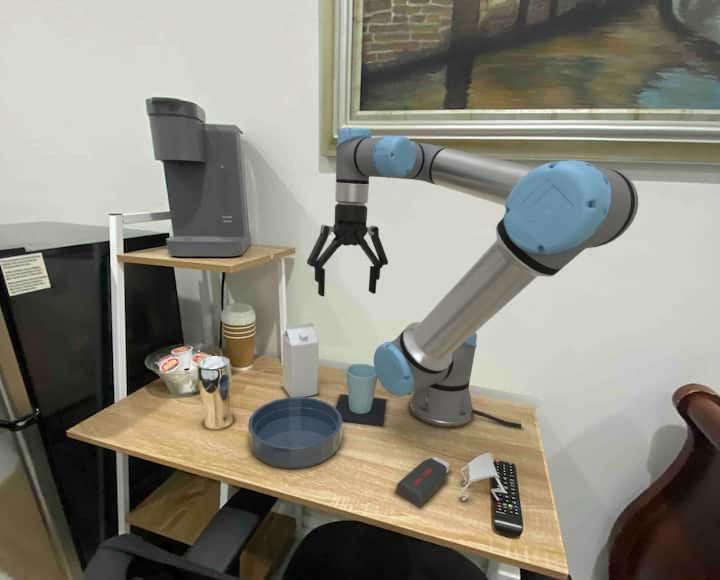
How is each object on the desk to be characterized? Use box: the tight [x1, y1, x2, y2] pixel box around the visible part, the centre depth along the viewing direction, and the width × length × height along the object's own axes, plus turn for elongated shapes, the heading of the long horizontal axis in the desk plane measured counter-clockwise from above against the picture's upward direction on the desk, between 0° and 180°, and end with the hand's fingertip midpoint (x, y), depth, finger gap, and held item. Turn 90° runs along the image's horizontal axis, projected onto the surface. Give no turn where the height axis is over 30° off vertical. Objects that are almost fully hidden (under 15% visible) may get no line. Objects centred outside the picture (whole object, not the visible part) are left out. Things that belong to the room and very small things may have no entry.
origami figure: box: [457, 452, 507, 501], centre depth 73 cm, size 12×8×5 cm
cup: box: [345, 363, 378, 414], centre depth 95 cm, size 8×8×10 cm
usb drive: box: [395, 456, 451, 508], centre depth 73 cm, size 5×12×3 cm, turn 139°
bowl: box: [247, 396, 344, 469], centre depth 83 cm, size 19×19×5 cm
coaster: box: [335, 393, 387, 427], centre depth 97 cm, size 12×12×1 cm
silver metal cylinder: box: [196, 355, 234, 430], centre depth 86 cm, size 7×7×15 cm
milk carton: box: [282, 322, 319, 398], centre depth 101 cm, size 7×7×19 cm
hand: (347, 293), depth 97 cm, fingers open, 13 cm apart
